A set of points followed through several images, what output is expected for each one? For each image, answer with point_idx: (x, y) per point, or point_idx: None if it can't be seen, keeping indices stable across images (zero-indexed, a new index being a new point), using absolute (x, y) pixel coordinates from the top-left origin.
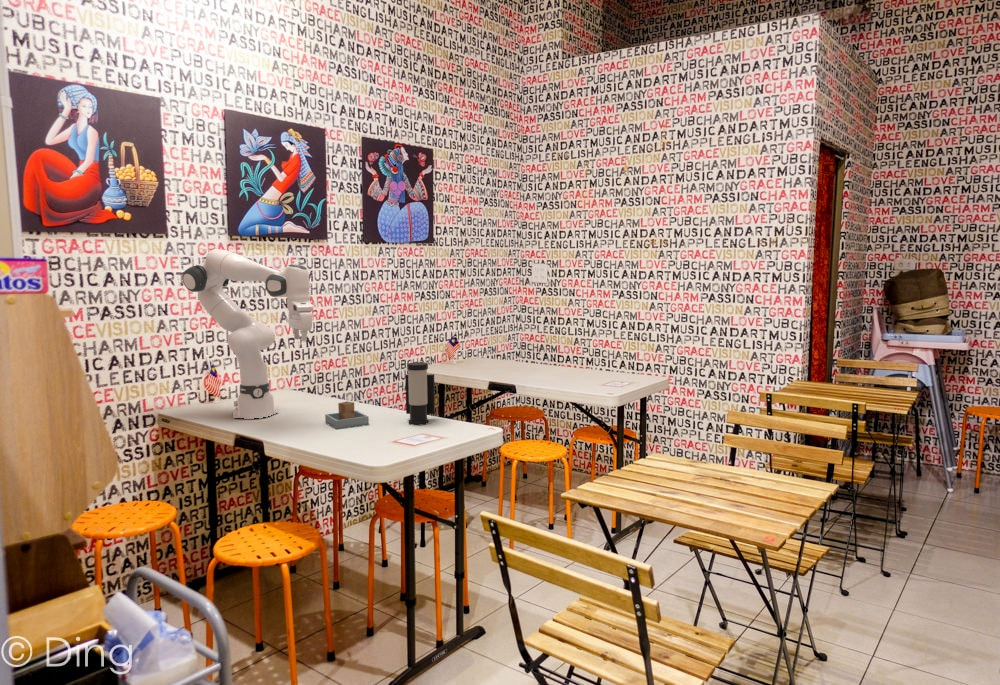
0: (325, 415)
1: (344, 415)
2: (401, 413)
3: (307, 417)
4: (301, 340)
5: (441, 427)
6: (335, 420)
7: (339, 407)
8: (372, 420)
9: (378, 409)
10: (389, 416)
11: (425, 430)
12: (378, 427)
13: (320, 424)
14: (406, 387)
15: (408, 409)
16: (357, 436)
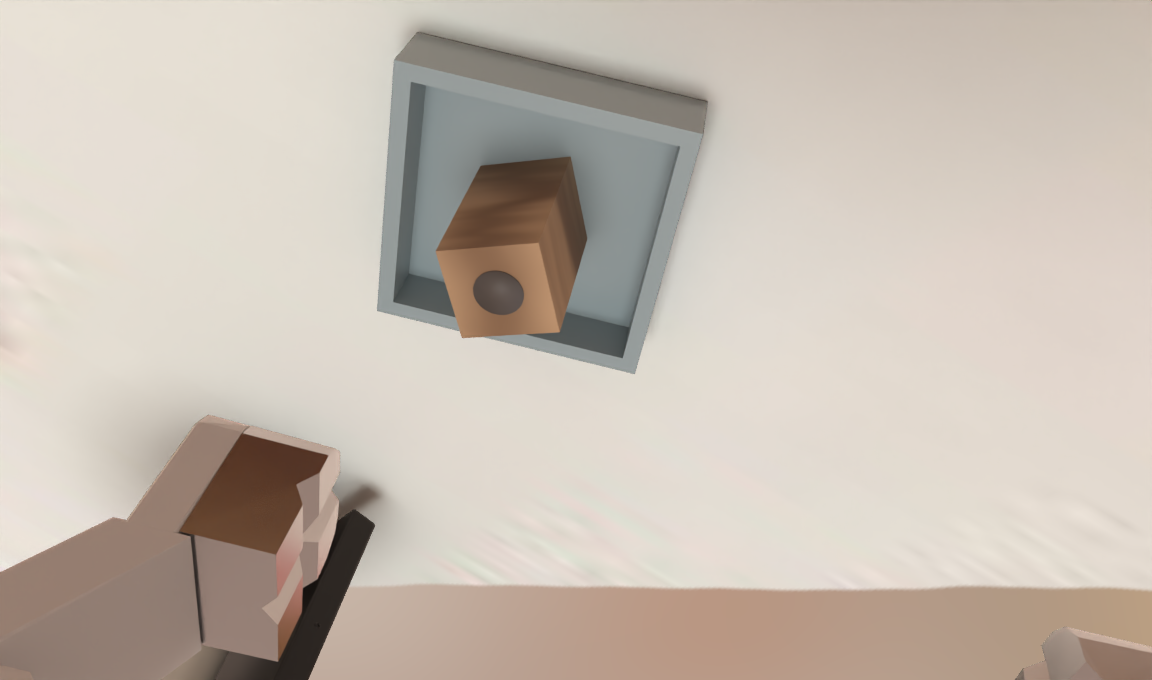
0: (694, 128)
1: (483, 196)
2: (556, 561)
3: (1044, 106)
4: (280, 441)
5: (90, 473)
6: (411, 64)
7: (532, 223)
8: (508, 363)
9: (776, 560)
10: (535, 483)
11: (63, 389)
12: (288, 272)
13: (686, 37)
14: (278, 663)
15: (334, 536)
16: (106, 20)
